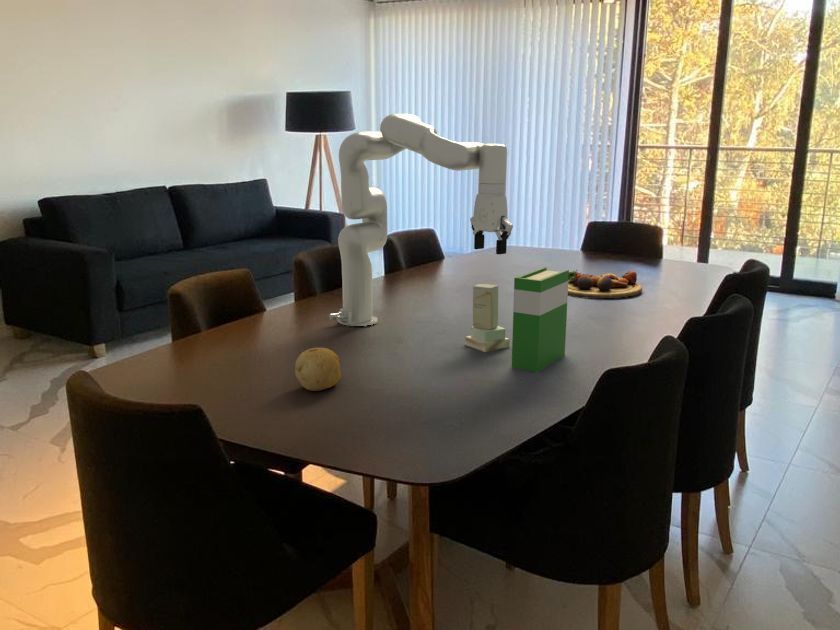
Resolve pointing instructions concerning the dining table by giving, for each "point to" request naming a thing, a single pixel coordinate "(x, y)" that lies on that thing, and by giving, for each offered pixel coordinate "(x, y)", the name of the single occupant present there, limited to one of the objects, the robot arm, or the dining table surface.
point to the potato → (318, 369)
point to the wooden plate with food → (603, 285)
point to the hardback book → (539, 318)
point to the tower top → (488, 334)
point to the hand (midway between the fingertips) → (489, 251)
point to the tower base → (486, 344)
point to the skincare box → (485, 306)
